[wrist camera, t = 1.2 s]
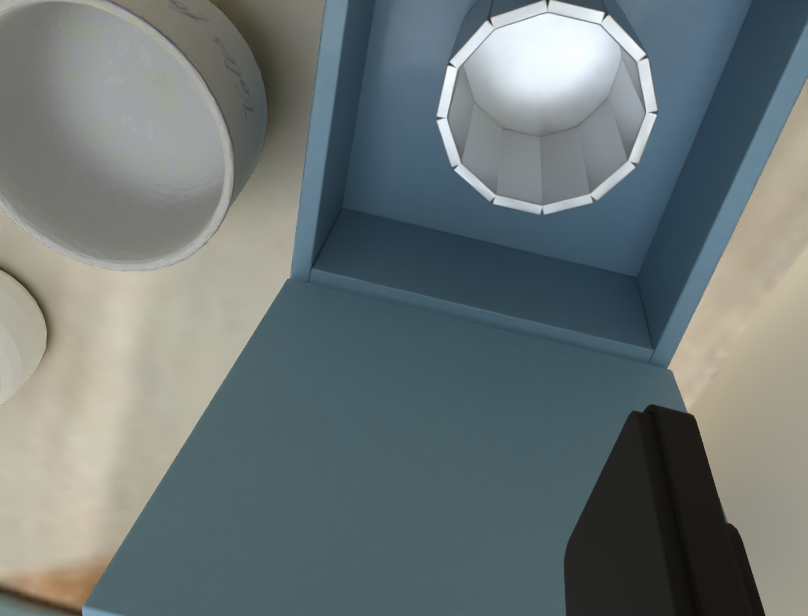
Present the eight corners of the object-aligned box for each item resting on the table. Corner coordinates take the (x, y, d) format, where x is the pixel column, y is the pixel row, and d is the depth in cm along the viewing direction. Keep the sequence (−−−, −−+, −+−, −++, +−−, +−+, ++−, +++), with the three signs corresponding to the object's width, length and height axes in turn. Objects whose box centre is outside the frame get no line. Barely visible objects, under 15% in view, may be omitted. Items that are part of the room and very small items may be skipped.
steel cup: (479, -52, 29) (465, -21, 22) (654, -11, 29) (690, 31, 22) (440, 120, 32) (419, 187, 26) (596, 156, 32) (612, 233, 26)
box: (383, -166, 28) (345, -168, 22) (798, -70, 28) (868, -48, 22) (326, 211, 36) (289, 280, 31) (644, 287, 36) (667, 371, 30)
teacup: (332, 53, 32) (280, 108, 26) (230, 238, 38) (165, 325, 31) (29, -148, 30) (-116, -145, 23) (-33, 82, 35) (-165, 138, 29)
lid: (80, 606, 15) (80, 632, 16) (829, 792, 15) (811, 814, 16) (287, 277, 30) (284, 295, 30) (672, 369, 30) (665, 386, 30)
